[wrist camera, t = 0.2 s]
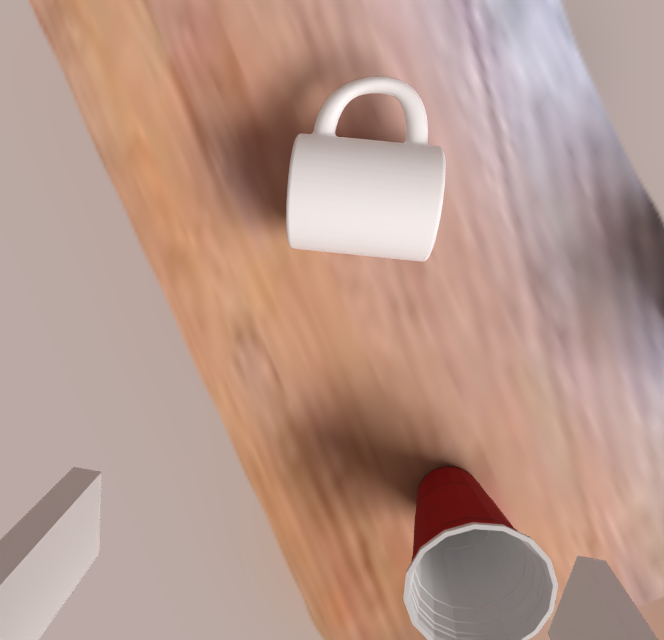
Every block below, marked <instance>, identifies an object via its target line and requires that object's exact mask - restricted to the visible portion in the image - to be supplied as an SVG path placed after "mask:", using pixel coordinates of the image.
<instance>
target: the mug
mask: <svg viewBox="0 0 664 640" xmlns="http://www.w3.org/2000/svg"><path fill="white" fill-rule="evenodd" d="M371 93H381V94H387V95H391V96H393V97H395V98H396V99H397V100H398V101H399V102H400V104H401V106H402V108H403V111H404V115H405V122H406V140H405V142H403V143H399V142H388V141H378V140H367V139H357V138H346V137H337V136H336V134H335V130H336V126H337V123H338V120H339V117H340V115H341V113H342V111H343V109H344V108H345V106H346V105H347V104H348V103H349V102H350V101H351V100H352V99H353V98H355V97H357V96H360V95H364V94H371ZM444 187H445V155H444V151H443V149H442V148H441V147H439V146H430V145H429V144H428V123H427V115H426V111H425V107H424V105H423V102H422V100H421V98H420V97H419V95H418V94H417V92H416V91H415V90H414V89H413V88H412V87H411V86H409V85H408V84H406V83H405V82H403V81H401V80H398V79H395V78H391V77H383V76H375V77H366V78H361V79H358V80H355V81H352V82H350V83H347V84H345V85H344V86H342V87H340V88H339V89H337V90H336V91H335V92H333V93H332V94H331V95H330V96H329V97H328V99H327V100H326V101H325V102H324V104H323V106H322V107H321V109H320V111H319V114H318V116H317V119H316V122H315V126H314V131H313V133H311V134H305V133H300V134H298V135H297V137H296V139H295V141H294V145H293V149H292V154H291V160H290V167H289V175H288V186H287V201H286V230H287V239H288V243H289V246H290V247H291V248H294V249H304V250H314V251H323V252H333V253H343V254H353V255H363V256H373V257H383V258H392V259H402V260H412V261H425V260H426V259H427V258H428V257H429V255H430V253H431V251H432V248H433V245H434V242H435V239H436V235H437V231H438V226H439V222H440V216H441V211H442V204H443V196H444Z"/></svg>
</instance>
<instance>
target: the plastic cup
mask: <svg viewBox="0 0 664 640" xmlns="http://www.w3.org/2000/svg"><path fill="white" fill-rule="evenodd" d="M557 588H558V583H557V580H556V576H555V573H554V569H553V566H552V562H551V560H550V558H549V557H548V556H547V555H546V554H545V553H544V552H543V551H542V549H541V548H540V547H539V546H538V545H537V544H536V543H535V542H534V541H533V539H531V538H530V537H529V536H527V535H525V534H522V533H520V532H518V531H517V530H516V529H514V528H513V526H512V525H511V524H510V522H509V521H508V520H507V518H506V517H505V516H504V514H503V513H502V512H501V511H500V509H499V508H498V507H497V505H496V504H495V503H494V501H493V500H492V499H491V498H490V497H489V496H488V495H487V494H486V492H485V491H484V490H483V488H482V487H481V485H480V484H479V483H478V482H477V481H476V479H475V478H474V477H473V476H472V475H470V474H469V473H468V472H466V471H464V470H462V469H460V468H458V467H442V468H439V469H435V470H433V471H432V472H430V473H429V474H427V475H426V476H425V477H424V479H423V480H422V482H421V483H420V485H419V488H418V494H417V505H416V514H415V526H414V546H413V557H412V562H411V564H410V566H409V567H408V569H407V572H406V580H405V590H404V599H403V600H404V602H405V605H406V608H407V611H408V613H409V616H410V619H411V622H412V624H413V625H414V626H415V627H416V628H417V629H418V630H419V631H420V632H421V633H422V634H423V635H424V636H425V637H426V638H427V639H428V640H528V639H530V638H531V637H533V636H534V635H536V634H537V633H538V632H539V631H540V629H541V628H542V626H543V625H544V624H545V622H546V621H547V619H548V618H549V616H550V615H551V613H552V612H553V610H554V605H555V599H556V594H557Z"/></svg>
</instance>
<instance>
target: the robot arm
mask: <svg viewBox="0 0 664 640" xmlns="http://www.w3.org/2000/svg"><path fill="white" fill-rule="evenodd" d="M101 474H102V472H99V471H93V470H87V469H82V468H76V467H74V468H73V469H72V470H71V471H69V472H68V474H66V475H65V477H64V478H63V479H61V480H60V481H59V482H58V483H57V484H56V485H55V486H54V487H53V488H52V489H51V490H50V491H49V492H48V493H47V494H46V495H45V496H44V497H43V498H42V499H41V500H40V501H39V502H38V503H37V504H36V505H35V506H34V507H33V508H32V509H31V510H30V511H29V512H28V513H27V514H26V515H25V516H24V517H23V518H22V519H21V520H20V521H19V522H18V523H17V524H16V525H15V526H14V527H13V528H12V529H11V530H10V531H9V532H8V533H7V534H6V535H5V536H4V537H3V538H2V539H1V540H0V640H39V638H40V637H41V635H42V634H43V633H44V631H45V630H46V628H47V627H48V626H49V624H50V623H51V621H52V620H53V619H54V617H55V616H56V614H57V613H58V611H59V610H60V609H61V607H62V606H63V604H64V603H65V601H66V600H67V599H68V597H69V596H70V594H71V593H72V591H73V590H74V589H75V587H76V586H77V584H78V583H79V582H80V580H81V579H82V577H83V576H84V574H85V573H86V572H87V570H88V568H89V567H90V566H91V564H92V563H93V562H94V560H95V559H96V557H97V556H98V554H99V537H100V506H101ZM548 635H549V637H550V639H551V640H658V638H657V637H656V636H655V634H654V632H653V631H652V630H651V628H650V627H649V625H648V623H647V622H646V620H645V619H644V617H643V616H642V614H641V613H640V611H639V610H638V608H637V607H636V605H635V604H634V602H633V601H632V599H631V598H630V596H629V595H628V594H627V592H626V591H625V589H624V588H623V586H622V585H621V583H620V582H619V580H618V579H617V577H616V576H615V574H614V573H613V571H612V570H611V568H610V567H609V565H608V564H607V562H606V561H604V560H598V559H593V558H587V557H581V556H578V557H577V559H576V562H575V564H574V567H573V569H572V572H571V575H570V577H569V580H568V582H567V585H566V587H565V590H564V593H563V595H562V598H561V600H560V603H559V605H558V608H557V611H556V613H555V616H554V618H553V621H552V624H551V626H550V629H549V631H548Z"/></svg>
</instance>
